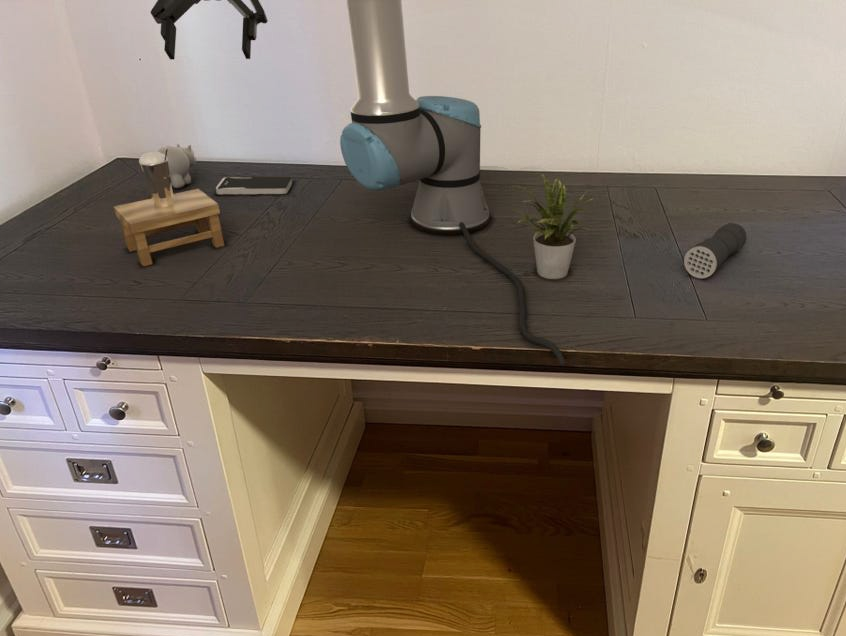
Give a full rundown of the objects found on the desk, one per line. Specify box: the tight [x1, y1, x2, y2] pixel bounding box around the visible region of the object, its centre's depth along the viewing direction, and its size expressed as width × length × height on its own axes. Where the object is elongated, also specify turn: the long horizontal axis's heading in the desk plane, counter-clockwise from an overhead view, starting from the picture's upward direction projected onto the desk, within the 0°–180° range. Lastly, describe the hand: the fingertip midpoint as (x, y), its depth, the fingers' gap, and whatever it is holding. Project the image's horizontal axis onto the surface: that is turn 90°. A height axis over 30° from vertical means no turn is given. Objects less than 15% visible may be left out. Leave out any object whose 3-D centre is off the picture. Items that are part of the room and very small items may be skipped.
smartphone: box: [215, 176, 293, 195], centre depth 156 cm, size 8×1×15 cm
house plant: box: [512, 172, 595, 280], centre depth 118 cm, size 14×14×16 cm
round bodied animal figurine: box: [156, 143, 197, 189], centre depth 158 cm, size 7×12×8 cm, turn 165°
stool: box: [113, 188, 225, 267], centre depth 128 cm, size 10×15×8 cm, turn 128°
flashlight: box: [683, 222, 747, 279], centre depth 124 cm, size 15×5×5 cm, turn 142°
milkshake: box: [138, 149, 174, 208], centre depth 123 cm, size 4×5×10 cm
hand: (207, 54), depth 129 cm, fingers open, 13 cm apart
